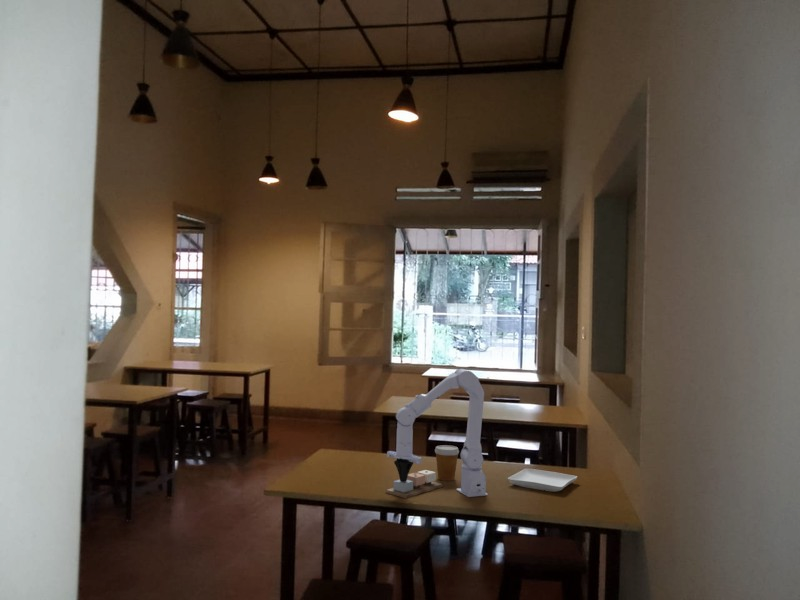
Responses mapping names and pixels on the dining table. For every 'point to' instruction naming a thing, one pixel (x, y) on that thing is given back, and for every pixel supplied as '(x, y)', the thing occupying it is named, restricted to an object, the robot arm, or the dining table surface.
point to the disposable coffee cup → (446, 461)
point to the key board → (415, 489)
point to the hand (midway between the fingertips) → (403, 480)
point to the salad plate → (542, 480)
